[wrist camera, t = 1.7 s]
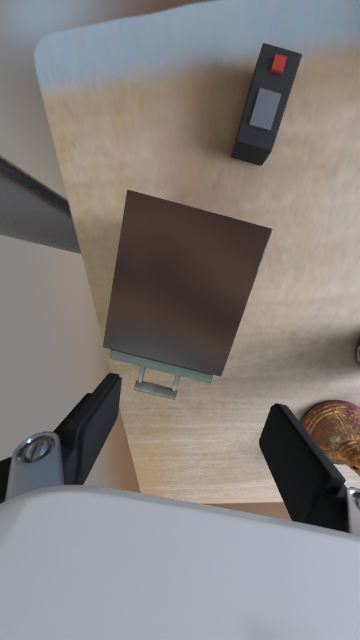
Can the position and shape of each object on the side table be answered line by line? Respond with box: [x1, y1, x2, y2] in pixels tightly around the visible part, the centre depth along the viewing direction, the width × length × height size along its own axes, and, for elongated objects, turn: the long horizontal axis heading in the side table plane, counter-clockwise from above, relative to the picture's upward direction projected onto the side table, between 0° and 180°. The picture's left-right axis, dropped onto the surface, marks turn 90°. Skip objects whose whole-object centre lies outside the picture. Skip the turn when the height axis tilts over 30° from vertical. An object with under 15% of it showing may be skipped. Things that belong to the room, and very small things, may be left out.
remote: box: [231, 43, 302, 165], centre depth 19 cm, size 8×4×3 cm, turn 166°
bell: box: [301, 400, 360, 476], centre depth 27 cm, size 12×12×7 cm
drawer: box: [110, 349, 213, 400], centre depth 23 cm, size 20×12×7 cm, turn 166°
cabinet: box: [103, 190, 273, 376], centre depth 22 cm, size 16×14×9 cm
